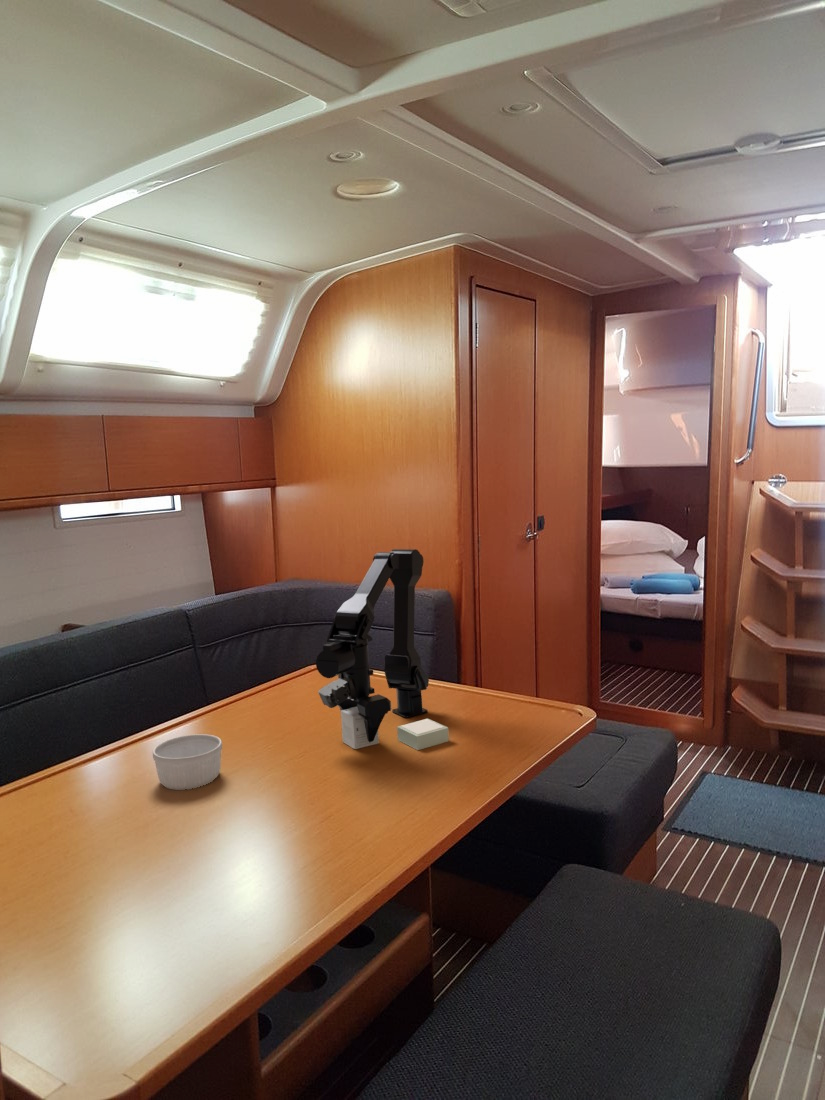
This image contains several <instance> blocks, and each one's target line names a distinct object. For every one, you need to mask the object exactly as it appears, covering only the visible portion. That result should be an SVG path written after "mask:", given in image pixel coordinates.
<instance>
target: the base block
mask: <svg viewBox="0 0 825 1100" xmlns="http://www.w3.org/2000/svg"><path fill="white" fill-rule="evenodd" d="M396 730H397V740H398V741H399V742H401V743H403V744H405V745H407V746H408V747H411V748H413V749H414V750H416V751H420V750H424V749H427V748H430V747H431V748H432V747H433V746H437V745H441V744H444V743H448V742H450V737H449V735H450V734H449V727H448V726H446V725H444V724H441V723H439V722H437V721H434V720H432V719H430V718H424V719H421V720H417V721H412V722H409V723H406V724H402V725H398V726H396Z"/></svg>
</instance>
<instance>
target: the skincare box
mask: <svg viewBox="0 0 825 1100" xmlns="http://www.w3.org/2000/svg"><path fill="white" fill-rule="evenodd" d="M358 713H359V711H358V708H357V707H352V708H349V709H345V710H340V719H341V721H340V722H341V735H342V743H344V744H345V745H347V746H348V747H350V748H352V749H354V750H358V749H362V748H366V747H369V746H374V745H378V744H379V742H380V738H379V730H378V731H377V733H376V736H375V738H374V741H372V742H368V738H367V734H366V728H365V723H364V719H363V718H362V717H360V716H359V715H358Z"/></svg>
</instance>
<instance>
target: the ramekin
mask: <svg viewBox="0 0 825 1100" xmlns="http://www.w3.org/2000/svg"><path fill="white" fill-rule="evenodd" d="M222 742H223V741H222V740H221V738H220V737H218V736H216V735H212V734H205V733H204V734H201V733H199V734H198V733H197V734H188V735H187V734H186V735H182V736H177V737H173V738H170V739H167V740H164V741H162V742H161V743H158V744H157V745H156V746H155V747H154V748H153V750H152V758H153V759H152V760H153V761H154V764H155V769H156V772H157V776H158V777H157V778H158V781H159V783H160V784H161V785H162V786H164V788H167V789H169V790H173V791H174V790H175V791H183V790H184V791H186V790H185V789H187V790H192V788H193V789H197V787H198V788H200V786H201V787H204V786H207V785H209V784H210V782H211V783H213V782H214V781H213V780H214V779H215V778H216V779H217V777H218V776H219V774H220V771H221V767H222V766H221V765H222V763H221V761H222V750H223V743H222ZM216 779H215V780H216ZM208 783H209V784H208ZM206 784H207V785H206ZM203 785H204V786H203Z"/></svg>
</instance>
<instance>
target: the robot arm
mask: <svg viewBox="0 0 825 1100" xmlns="http://www.w3.org/2000/svg"><path fill="white" fill-rule="evenodd" d="M424 560H425V559H424V557H423V554H421V552H420V551H419V550H418V549H414V548H409V549H408V548H407V549H405V548H400V549H399V548H397V549H396V548H394V549H391V551H388V552H387V551H386V552H385V551H383V552H382V551H379V552H377V553H375V554H374V556H373V558H372V564H371V565H370V567H369V569H368V570H367V572H366V574H365V576H364V578H363V579H362V581H361V583H360V584H359V586H358V588H357V590H356V592H355V594H354V595H353V596H352V597H350V598H349V599H347V600H346V601H344V602H343V603H342V604H341V606H340V607H339V608H338V610H337V611H336V613H335V614H334V617H333V621H332V623H331V627H330V629H329V633H328V636H327V639H326V642H327V643H325V644H323V645H322V651H321V652H319V654H318V655H317V656H316V660H315V667H316V670H317V671H318V673H319V674H320V675H321V676H322V677H323V678H326V679H332V678H335V677H337V676H338V678H337V679H335V680H333V681H330V682H329V683H327V684H326V685H325V686H323V687H322V688H320V689H319V690H318V692H317V693H318V695H319V697H320V699H321V702H322V704H323V705H324V706H328V708H330V709H332V708H333V709H334V708H335V707H338V708H339V710H340V711H341V710H345V709H349V708H352V707H357V708H358V711H359V713H358V715H359V716H360V717H362V718H363V719H364V723H365V728H366V734H367V738H368V742H372V741H374V738H375V736H376V733H377V731H378V732H379V729H380V726H381V724H382V722H383V721H384V720H383V719H384V718H385V715H387V714H388V713H389V712H392V713H394V714H395V715H396V714H397V715H398V716H401V717H403V718H411V717H414V716H419V715H422V714H426V713H428V711H429V710H428V709H426V708H424V707H423V695H422V691H424V690H425V691H426V690H427V689H428V687H429V680H430V678H429V676H428V674H427V673H426V672H425V671H424V669H423V668H422V662H421V657H420V655H419V653H418V652H417V650H416V648H415V600H416V599H415V597H416V595H415V593H416V592H415V591H416V589H415V588H416V586H417V584H418V582H419V581H420V579H421V577H422V573H423V567H424ZM389 580H390V581H391V583H392V585H393V640H392V642H393V646H392V649H391V650H390V652H389V654H385V656H384V668H383V672H384V676H385V679H386V682H387V686H388V689H396V702H397V705H396V706H397V708H393V709H392V701H391V700H390V699H389V698H388V697H386V696H384V695H382V694H379V693H378V694H376V693H375V688H374V687H371V676H373V675H374V669H372V668H370V661H369V660H370V659H369V644H368V643H370V642H372V641H373V640H374V639H373V637H372V636H371V635H370V634H369V632H370V631H371V629H372V626H373V624H374V621H375V616H376V615H375V610H374V609H375V606H376V604H377V602H378V600H379V598H380V596H381V594H382V593H383V591H384V589H385V587H386V585H387V584H388V582H389ZM372 694H373V695H372ZM370 695H371V696H370ZM391 710H392V711H391Z"/></svg>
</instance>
